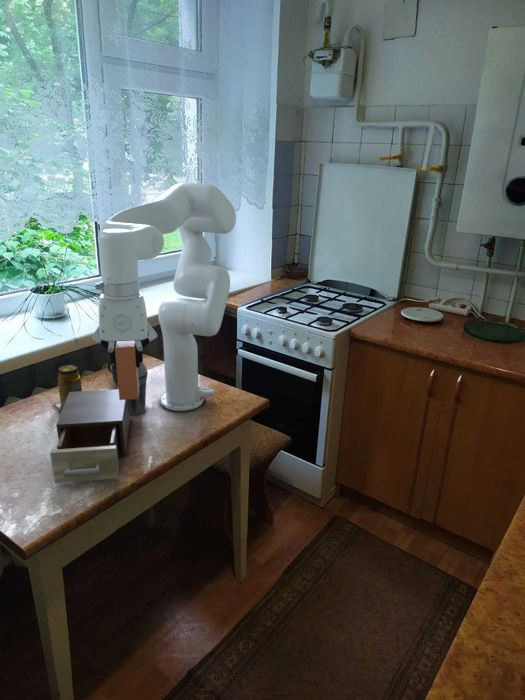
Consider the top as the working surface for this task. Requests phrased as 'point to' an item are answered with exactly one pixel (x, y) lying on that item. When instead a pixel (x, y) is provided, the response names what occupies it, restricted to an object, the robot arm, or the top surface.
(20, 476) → the top surface
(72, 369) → the condiment
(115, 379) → the mug
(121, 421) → the cabinet
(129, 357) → the block
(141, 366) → the beverage cup
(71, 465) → the drawer
